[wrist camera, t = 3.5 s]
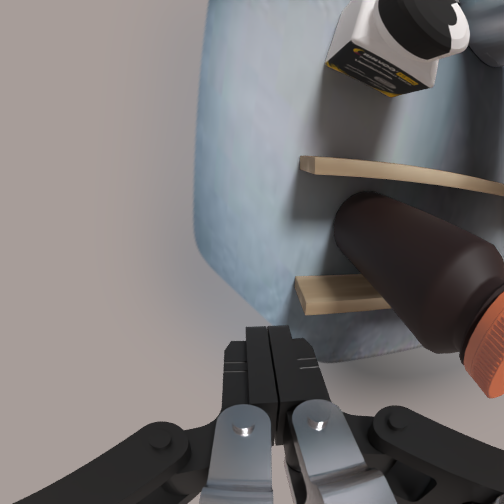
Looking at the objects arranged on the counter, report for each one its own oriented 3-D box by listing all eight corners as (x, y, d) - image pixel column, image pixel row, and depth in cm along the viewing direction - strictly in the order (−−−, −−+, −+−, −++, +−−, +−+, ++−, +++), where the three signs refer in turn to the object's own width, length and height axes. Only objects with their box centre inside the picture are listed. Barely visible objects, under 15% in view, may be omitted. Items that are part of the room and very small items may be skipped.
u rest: (300, 155, 23) (315, 157, 19) (521, 188, 25) (546, 196, 20) (294, 287, 28) (305, 315, 23) (505, 271, 29) (527, 285, 24)
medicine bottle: (322, 65, 20) (384, 13, 9) (341, 10, 18) (397, -52, 7) (390, 99, 21) (478, 81, 10) (404, 43, 19) (481, 9, 8)
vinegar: (326, 198, 25) (497, 323, 6) (390, 184, 24) (575, 263, 6) (337, 266, 27) (453, 435, 8) (396, 249, 27) (538, 372, 8)
